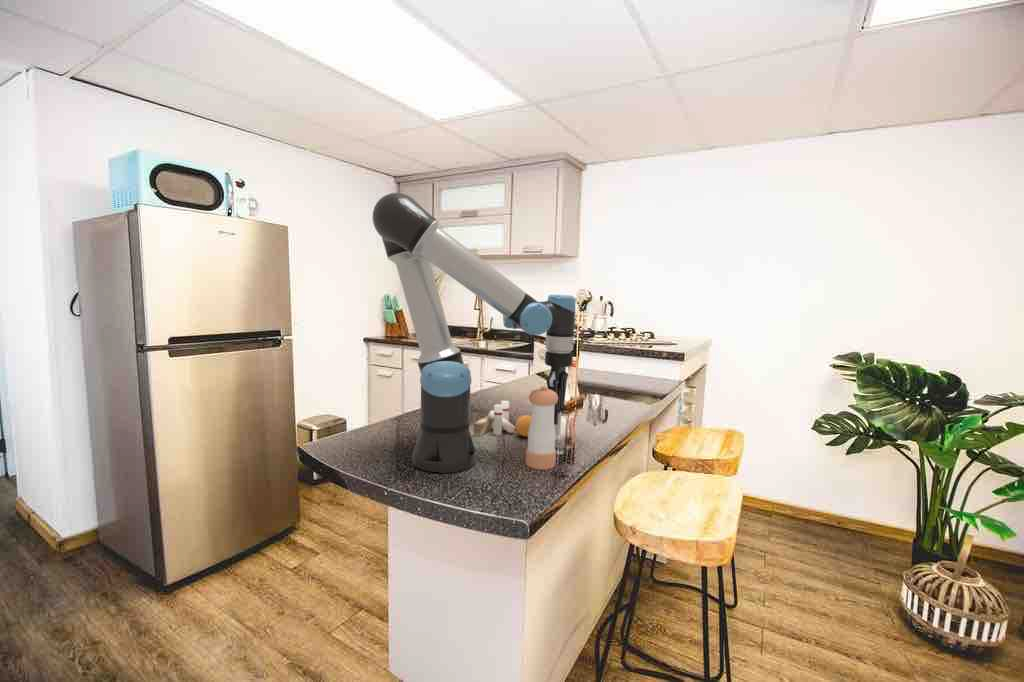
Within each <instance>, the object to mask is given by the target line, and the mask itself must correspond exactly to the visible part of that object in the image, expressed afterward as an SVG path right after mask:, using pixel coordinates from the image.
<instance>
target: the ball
mask: <svg viewBox="0 0 1024 682" xmlns="http://www.w3.org/2000/svg"><path fill="white" fill-rule="evenodd" d="M530 423H531V415H528V414H527V415H525V414H523V415H521V416H520V417H518V418H517V420H516V422H515V430H516V432H517V434H519V435H520V436H522V437H528V433H529V428H530Z"/></svg>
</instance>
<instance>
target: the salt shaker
mask: <svg viewBox="0 0 1024 682" xmlns="http://www.w3.org/2000/svg"><path fill="white" fill-rule="evenodd" d="M528 400H529V402H530V403H531V413H530V414H531V415H530V416H531V423H530V428H529V433H528V436H527V447H526V449H525V465H526V467H529V468H531V469H535V470H541V471H542V470H550V469H553V468H555V466H556V458H557V450H556V449H555V448H556V447H555V446H556V436H557V435H555V427H554V407H555V404H556V403H557V401H558V395H557V394H556V392H554V391H552V390H550V389H548V387H547V386H544V385H543V386H541V387H540V388H537V389H534V390H531V392H530V393H529V394H528Z"/></svg>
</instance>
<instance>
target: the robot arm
mask: <svg viewBox="0 0 1024 682" xmlns="http://www.w3.org/2000/svg"><path fill="white" fill-rule="evenodd" d="M372 224H373V226H374V228H375V229H374V230H376V232H377V234H378V235H379V236H380V237H381V240H382V242H383V246H384V249H385V253H386V255H387V260H389V261H390V262H392V263H394V264H395V265H396V266H395V267H396V269H397V273H398V276H399V280H400V285H401V288H402V290H403V294H404V298H405V301H406V305H407V308H408V312H409V316H410V318H411V322H412V325H413V330H414V333H415V336H416V340H417V344H418V347H419V351H420V355H419V357H418V359H417V365H418V366H417V367H418V369H419V373H420V378H419V383H420V420H419V421H420V422H419V423H420V426H419V427H420V429H419V433H418V435H417V439H416V442H415V445H414V448H413V449H412V450H413V451H412V460H411V462H413V463H412V465H413V464H414V465H415V466H416V467H418V468H420V469H422V470H421V471H423V470H426V471H425V472H427V471H431V472H430V473H432V472H439V473H438V474H451V473H452V474H453V473H459V472H462V471H466V470H468V469H470V468H472V467H473V466H474V465H475V464H476V460H477V458H476V457H477V452H476V448H475V445H474V441H473V437H472V435H471V431H470V414H471V412H470V411H471V384H472V375H471V370H470V367H468V366H467V365H466V364H464V363H465V362H464V360H463V356H462V352H461V349H460V348H458V347H457V346H455V345H454V344H453V340H452V337H451V333H450V330H449V326H448V322H447V319H446V315H445V311H444V308H443V304H442V301H441V296H440V292H439V288H438V285H437V282H436V277H435V274H434V271H433V266H432V265H434V266H436V268H438V269H439V270H441V271H442V272H444V274H446V275H448V276H449V277H451V278H452V279H453V280H455V281H456V282H457V283H459V285H462V287H464V288H466V289H467V290H468V291H470V292H471V293H472V294H474V295H475V296H476V297H478V298H480V299H481V300H482V301H483V302H485V303H486V304H487V305H489V306H490V307H491V308H493V309H494V310H496V311H497V312H499V313H500V314H501V315H502V320H503V321H502V323H503V326H504V327H505V328H506V329H514V330H518V329H519V330H522V331H524V332H525V333H527V335H530V336H540V335H543V334H545V333H546V335H545V350H546V352H545V353H544V357H545V358H544V363H545V365H546V366H547V367H550V372H549V373H548V379H546V387H547V389H550V390H552V391H554V392H556V394H557V395H558V401H557V403H556V404H555V407H554V427H555V436H557V437H558V436H559V437H560V435H561V429H562V412H565V410H566V409H565V408H564V407H565V399H566V392H567V383H568V378H569V373H568V372H567V369H566V368H570V367H572V366H573V359H574V358H573V356H574V354H573V352H572V351H573V350H574V344H576V340H575V339H574V335H575V321H576V298H575V297H574V296H573V295H570V294H549V295H548V296H547V299H546V300H545V301H537V300H536V299H535V298H533V297H532V296H531V295H529V294H528V293H526V292H525V291H524V290H523V289H522V288H520V287H519V286H518V285H517V284H515V283H513V282H512V281H511V280H510V279H508V278H507V277H506V276H504V274H502V273H501V272H499V271H498V270H497V269H495V268H494V267H493V266H492V265H490V264H488V263H487V262H486V261H485V260H483V259H482V258H481V257H479V256H478V255H476V253H474V252H473V251H471V250H470V249H468V248H467V246H465V245H464V244H462V243H461V242H459V240H457V239H455V237H453V236H452V235H450V234H449V233H448V232H446V231H445V230H444V229H443V228H441V227H440V224H439V221H438V219H436V218H435V217H434V216H432V215H431V214H430V213H429V212H427V210H425V209H424V207H422V206H421V205H420V204H419V202H417V201H416V200H415V199H414V198H413V197H412V196H410V195H407V194H405V193H402V192H401V193H400V192H392V193H388V194H385V195H384V196H382V197H380V199H379V200H378V201H377V202H376V204H375V206H374V207H373V210H372ZM414 465H413V466H414ZM415 466H414V467H415ZM416 467H415V468H416ZM418 468H417V469H418ZM420 469H419V470H420Z"/></svg>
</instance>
